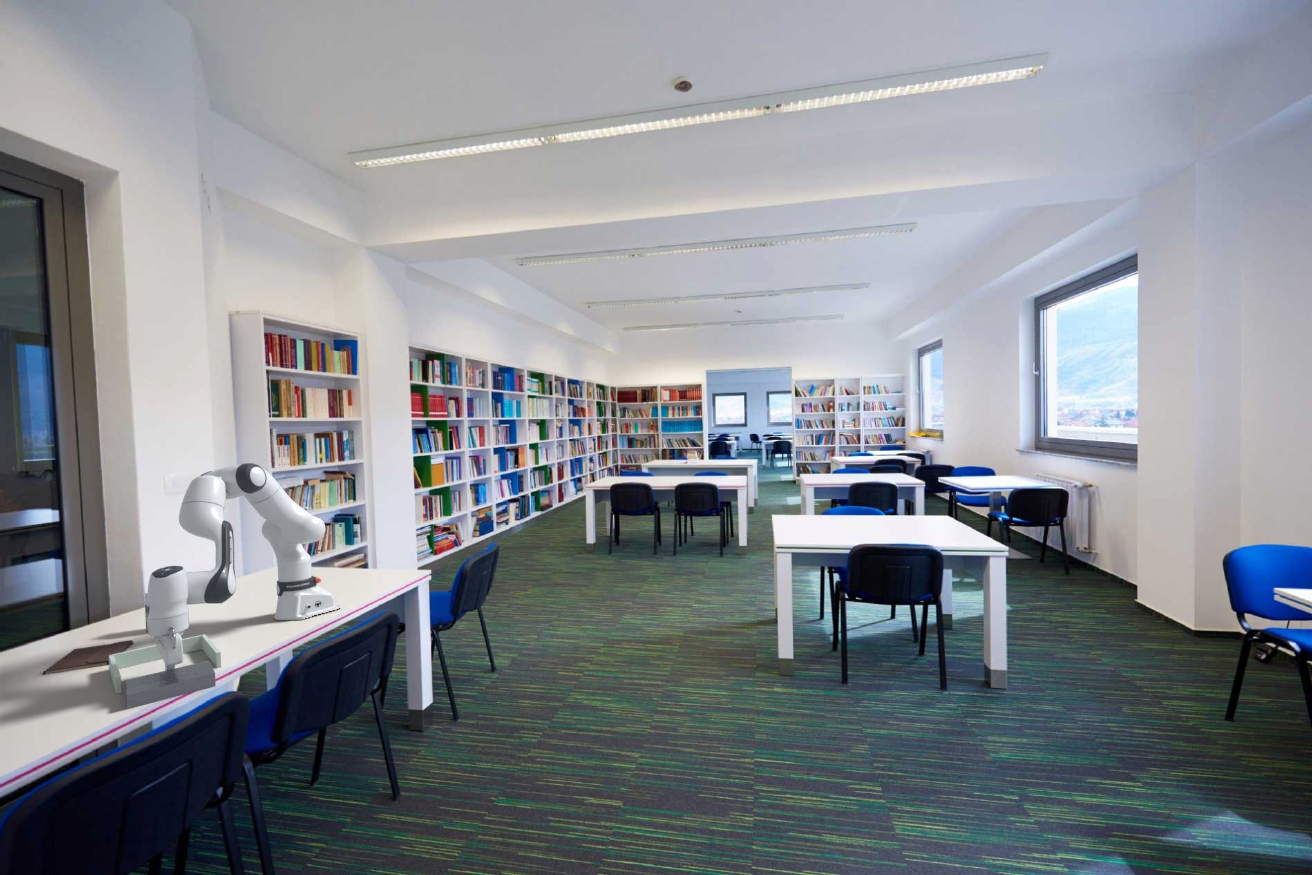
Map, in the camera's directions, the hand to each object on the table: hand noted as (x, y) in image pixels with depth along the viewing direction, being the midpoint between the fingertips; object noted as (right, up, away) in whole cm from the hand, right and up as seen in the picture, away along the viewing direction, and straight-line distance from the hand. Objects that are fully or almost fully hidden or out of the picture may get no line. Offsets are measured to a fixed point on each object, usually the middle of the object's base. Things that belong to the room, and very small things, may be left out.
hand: (170, 672), depth 162 cm
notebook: (-41, -4, +18) cm, 45 cm away
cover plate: (+5, -3, -6) cm, 8 cm away
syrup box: (-42, -3, +45) cm, 62 cm away
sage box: (-9, -2, +9) cm, 13 cm away
